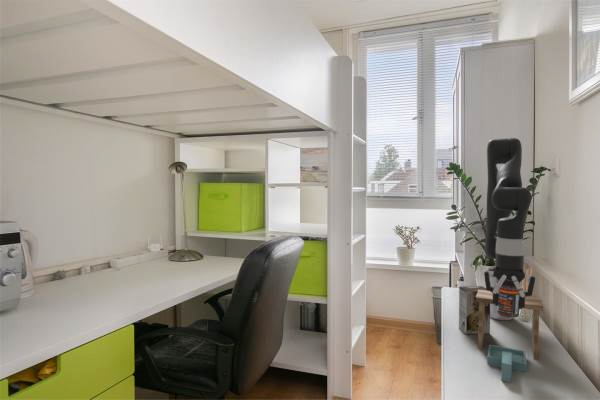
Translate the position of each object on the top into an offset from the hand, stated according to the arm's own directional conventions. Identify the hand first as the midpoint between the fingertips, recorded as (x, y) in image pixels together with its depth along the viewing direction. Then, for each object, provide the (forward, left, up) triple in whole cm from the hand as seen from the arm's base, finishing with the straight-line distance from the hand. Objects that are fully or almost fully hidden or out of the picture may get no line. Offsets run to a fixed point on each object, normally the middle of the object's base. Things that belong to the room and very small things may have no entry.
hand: (508, 306), depth 117 cm
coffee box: (-22, -11, -17) cm, 30 cm away
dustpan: (+5, 0, -17) cm, 18 cm away
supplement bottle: (0, 0, -3) cm, 3 cm away
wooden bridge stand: (-11, 0, -17) cm, 20 cm away
